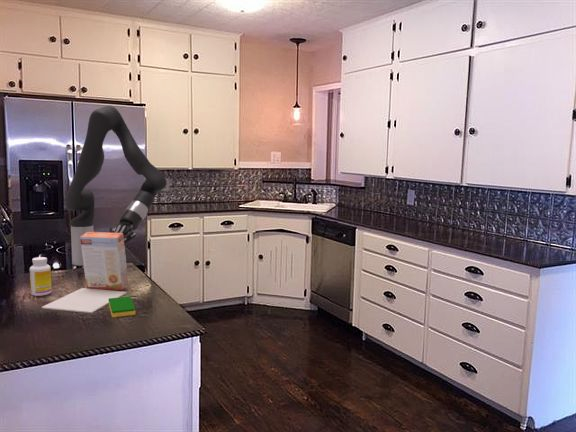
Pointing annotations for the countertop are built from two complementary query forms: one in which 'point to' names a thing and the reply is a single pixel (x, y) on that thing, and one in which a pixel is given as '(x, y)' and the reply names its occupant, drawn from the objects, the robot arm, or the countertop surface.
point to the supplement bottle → (40, 277)
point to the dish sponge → (121, 306)
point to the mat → (84, 300)
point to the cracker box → (104, 260)
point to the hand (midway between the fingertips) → (110, 250)
